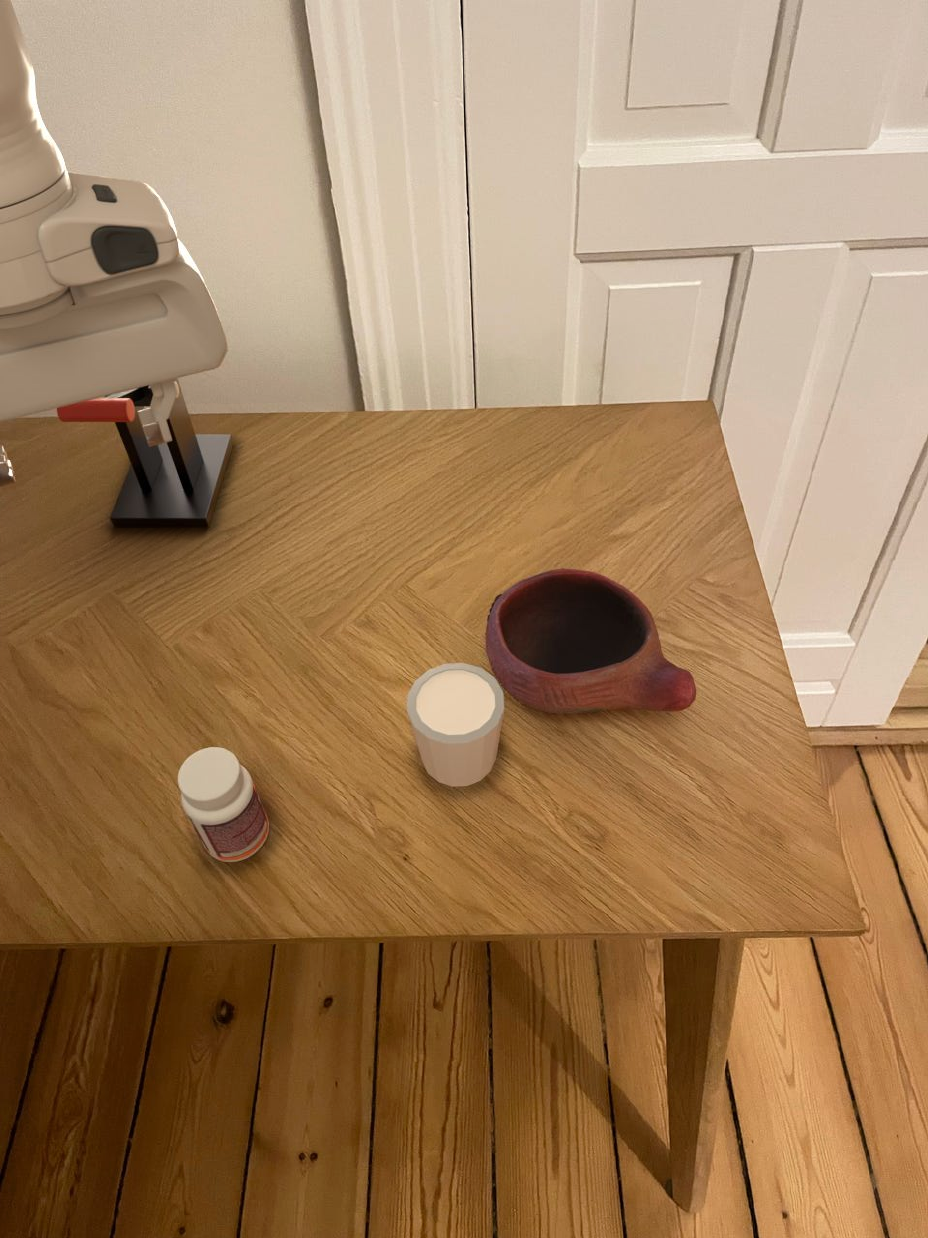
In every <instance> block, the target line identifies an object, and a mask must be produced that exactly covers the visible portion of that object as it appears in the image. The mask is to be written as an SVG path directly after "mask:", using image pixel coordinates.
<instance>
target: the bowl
mask: <svg viewBox="0 0 928 1238" xmlns="http://www.w3.org/2000/svg"><path fill="white" fill-rule="evenodd" d="M659 635H660V634H659V631H658V628H657V624H656V622H655V618H654V617H653V615H652V613H651V611H650V609H649V608H648V607H647V606H646V605H645V604H644V602H643V601H642V600H641V599H640V598H639V597H638V596H637V595H635V594H634V593H633V592H632V591H631V590H630V589H629V588H627V587H626V586H624V585H622V584H620V583H619V582H616V581H615V580H613V579H611V578H609V577H607V576H605V575H604V574H601V573H598V572H595V571H591V570H584V569H575V568H558V569H551V570H546V571H544V572H541V573H538V574H534V575H532V576H529V577H527V578H524V579H522V580H518V582H516V583H515V584H513V585H512V586H511V587H509V588H507V590H505V591H503V593H500V594H498V595H496V596H495V597H494V600H493V602H492V603H491V607H490V608H489V614H487V618H486V628H485V653H486V656H487V660H488V663H489V665H490V667H491V671H492V672H493V674H494V676H495V679H496V680H497V682H498V684H499V685H500V687H501V688H503V689H504V690H505V692H507V693H508V694H509V695H510V696H511V697H512V698H513V699H515V700H516V701H518V702H520V703H521V704H523V705H525V706H527V707H528V708H531V709H534V710H536V711H540V712H543V713H549V714H554V715H555V714H560V715H561V714H564V715H565V714H567V715H569V714H585V713H592V712H593V713H594V712H601V711H610V710H611V711H612V710H619V709H621V710H622V709H628V710H641V711H642V710H643V711H650V712H666V713H669V712H670V713H671V712H680V711H684V710H686V709H688V708H690V707H691V706H692V705H693V704H694V702H695V701H696V698H697V686H696V683H695V678H694V677H693V675H692V673H691V671H689V670H688V669H685V668H683V667H680V666H677V665H676V664H674V663H672V662H671V661H670V660H668V659H667V658H666V657H665V656H664V653H663V649H662V643H661V640H660V636H659Z"/></svg>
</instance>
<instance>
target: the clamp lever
mask: <svg viewBox="0 0 928 1238" xmlns="http://www.w3.org/2000/svg"><path fill="white" fill-rule="evenodd" d="M148 387H149V385H148V386H144V387H140V388H136V389H132V390H128V391H123V392H119V393H115V394H112V395H109V396H107V397H104V396H103V397H99V398H95V399H91V400H87V401H83V402H79V403H75V404H71V405H67V406H63V407H59V408H56V414H57V417H58V420H60V421H61V422H62V423H115V422H132V421H133V420H134V417H135V407H144V408H145V407H148V408H150V405H151V401H152V399H151V397H150V394H149V391H148Z"/></svg>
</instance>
